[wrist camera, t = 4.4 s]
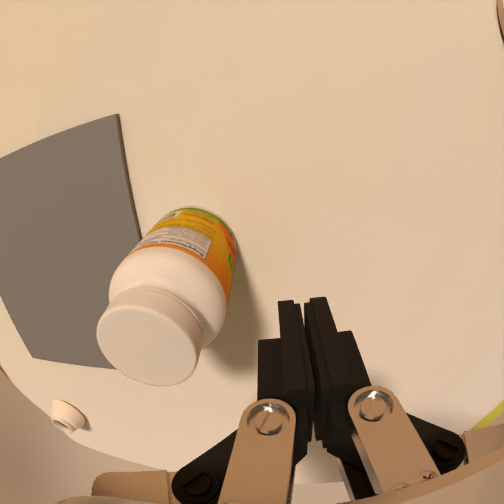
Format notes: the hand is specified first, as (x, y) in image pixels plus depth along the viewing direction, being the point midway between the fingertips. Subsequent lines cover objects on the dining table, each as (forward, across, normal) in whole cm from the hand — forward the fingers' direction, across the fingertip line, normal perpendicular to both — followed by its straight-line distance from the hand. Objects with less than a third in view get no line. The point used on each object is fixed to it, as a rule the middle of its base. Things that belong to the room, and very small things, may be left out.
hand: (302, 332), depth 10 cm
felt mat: (+9, +18, +1) cm, 20 cm away
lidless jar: (+9, +28, +21) cm, 36 cm away
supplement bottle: (+9, +6, 0) cm, 11 cm away
